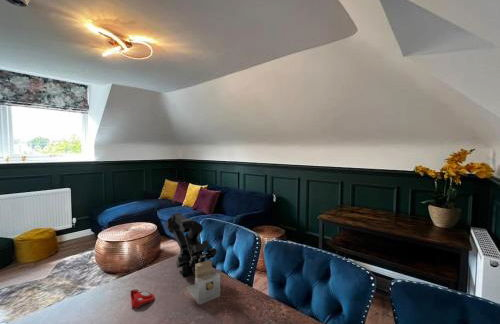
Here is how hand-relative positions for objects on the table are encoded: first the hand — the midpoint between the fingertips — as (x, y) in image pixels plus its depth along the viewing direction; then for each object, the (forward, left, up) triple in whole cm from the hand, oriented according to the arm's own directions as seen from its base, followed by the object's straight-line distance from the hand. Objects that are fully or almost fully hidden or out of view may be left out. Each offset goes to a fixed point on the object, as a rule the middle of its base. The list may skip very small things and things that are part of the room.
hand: (202, 275), depth 105 cm
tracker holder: (-10, -24, -8) cm, 27 cm away
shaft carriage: (+4, 0, -7) cm, 8 cm away
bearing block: (0, 0, -8) cm, 8 cm away
